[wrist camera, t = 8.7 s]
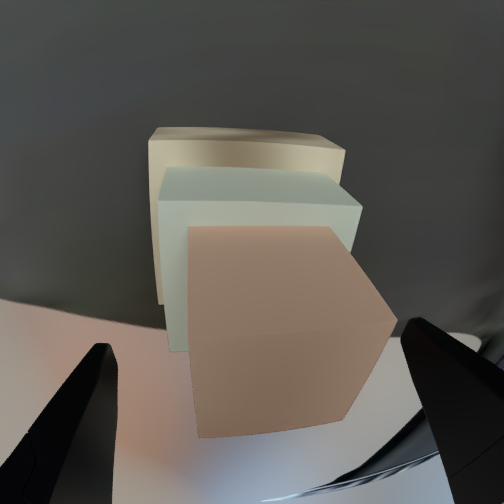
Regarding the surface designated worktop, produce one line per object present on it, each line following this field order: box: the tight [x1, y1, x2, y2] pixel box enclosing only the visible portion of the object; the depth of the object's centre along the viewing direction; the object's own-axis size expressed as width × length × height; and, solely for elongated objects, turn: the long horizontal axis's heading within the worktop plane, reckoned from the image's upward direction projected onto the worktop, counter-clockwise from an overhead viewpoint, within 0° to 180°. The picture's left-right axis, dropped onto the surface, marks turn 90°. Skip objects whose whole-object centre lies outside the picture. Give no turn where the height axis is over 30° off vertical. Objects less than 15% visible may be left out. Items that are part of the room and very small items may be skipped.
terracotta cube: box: [188, 226, 398, 438], centre depth 9 cm, size 4×4×4 cm
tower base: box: [149, 127, 346, 305], centre depth 15 cm, size 8×8×4 cm
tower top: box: [157, 166, 363, 352], centre depth 13 cm, size 6×6×4 cm
